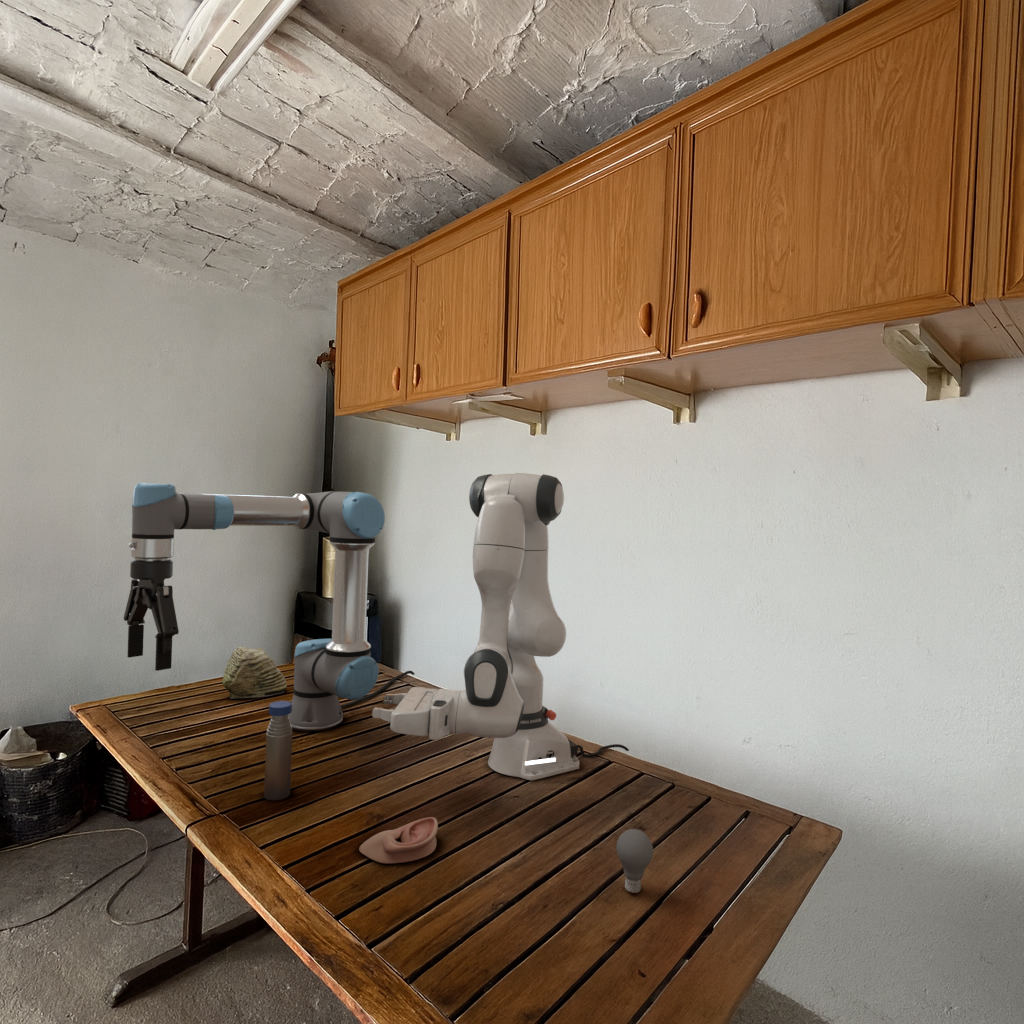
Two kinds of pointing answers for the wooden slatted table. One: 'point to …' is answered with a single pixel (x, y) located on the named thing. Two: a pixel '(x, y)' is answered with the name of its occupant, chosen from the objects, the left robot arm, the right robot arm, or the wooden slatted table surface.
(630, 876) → the light bulb
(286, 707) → the cap
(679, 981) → the wooden slatted table surface
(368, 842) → the anatomical model
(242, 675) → the fossil
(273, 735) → the bottle
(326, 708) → the left robot arm
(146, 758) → the wooden slatted table surface
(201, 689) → the wooden slatted table surface
